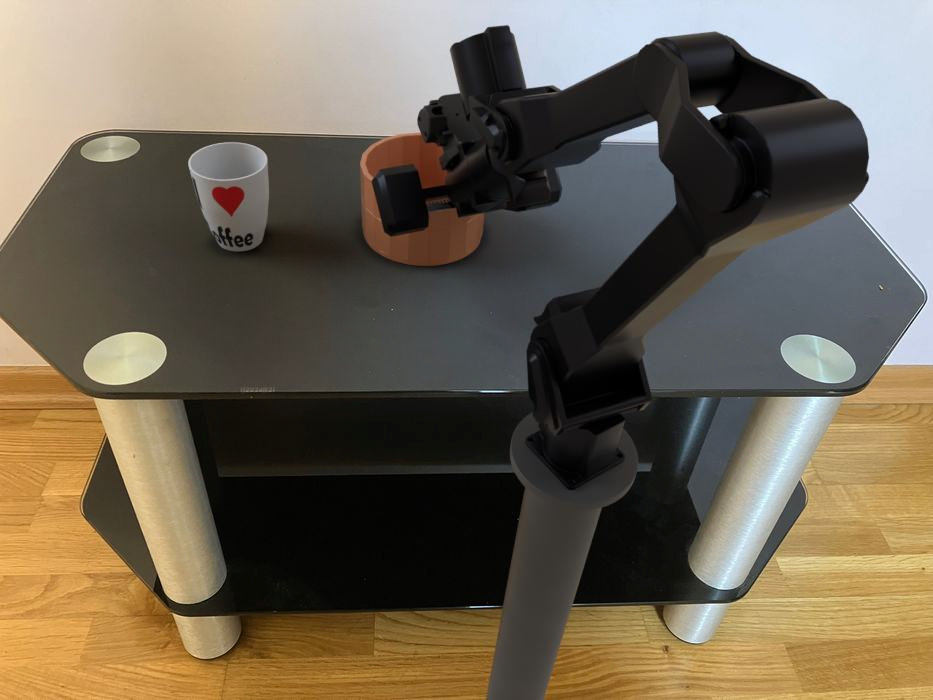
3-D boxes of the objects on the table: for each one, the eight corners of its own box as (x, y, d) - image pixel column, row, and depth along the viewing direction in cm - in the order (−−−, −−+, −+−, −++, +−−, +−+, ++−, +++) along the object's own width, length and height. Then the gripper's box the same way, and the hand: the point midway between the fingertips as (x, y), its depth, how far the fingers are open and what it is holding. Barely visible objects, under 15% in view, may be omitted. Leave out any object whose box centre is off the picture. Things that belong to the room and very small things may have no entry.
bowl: (505, 243, 92) (513, 176, 86) (402, 280, 86) (403, 210, 80) (440, 187, 101) (443, 122, 95) (341, 217, 94) (338, 150, 88)
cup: (189, 247, 88) (171, 168, 81) (231, 212, 94) (218, 135, 87) (251, 267, 86) (238, 187, 79) (290, 229, 92) (281, 153, 85)
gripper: (565, 68, 73) (503, 124, 88) (376, 92, 67) (343, 148, 82) (594, 184, 73) (527, 220, 88) (407, 218, 67) (369, 251, 82)
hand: (444, 207), depth 85 cm, fingers open, 9 cm apart
